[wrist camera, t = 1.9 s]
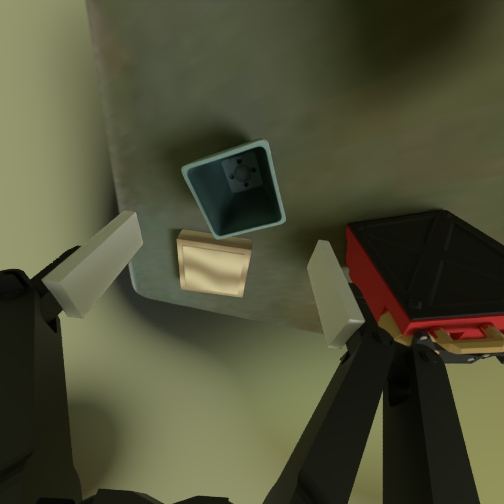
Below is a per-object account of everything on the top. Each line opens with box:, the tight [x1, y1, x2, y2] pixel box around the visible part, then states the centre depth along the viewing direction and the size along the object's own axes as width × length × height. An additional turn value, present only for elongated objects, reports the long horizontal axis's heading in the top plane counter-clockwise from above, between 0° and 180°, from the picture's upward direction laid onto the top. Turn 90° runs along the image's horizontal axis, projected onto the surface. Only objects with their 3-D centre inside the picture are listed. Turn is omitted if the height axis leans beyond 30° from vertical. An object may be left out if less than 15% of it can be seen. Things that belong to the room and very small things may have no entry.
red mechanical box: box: [345, 210, 504, 364], centre depth 26 cm, size 16×10×20 cm, turn 101°
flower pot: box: [181, 138, 286, 239], centre depth 24 cm, size 9×9×9 cm
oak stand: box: [177, 229, 252, 297], centre depth 37 cm, size 12×12×3 cm
